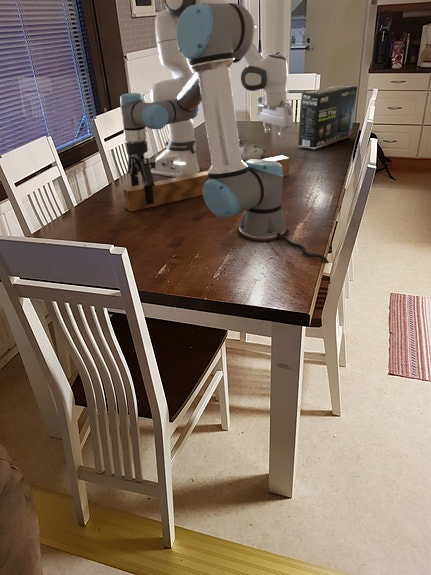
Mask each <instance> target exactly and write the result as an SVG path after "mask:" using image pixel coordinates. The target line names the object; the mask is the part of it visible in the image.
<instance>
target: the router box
mask: <svg viewBox="0 0 431 575" xmlns="http://www.w3.org/2000/svg"><path fill="white" fill-rule="evenodd" d="M357 93H358V86H356V85H350V84H339V85H338V84H337V85H334V86H328V87H324V88H318V89H314V90H309V91H304V92H301V93H300V109H299V110H300V111H299V124H298V137H297V146H298V145H302V146H307V147H317V146H320V145H323V144H325V143H328V142H331V141H333V140H336V139H338V138H341V137H344V136H347V135H351V136H352V133H353V132H352V131H353V125H354V115H355V109H356V99H357ZM311 151H313V150H312V149H311Z"/></svg>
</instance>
